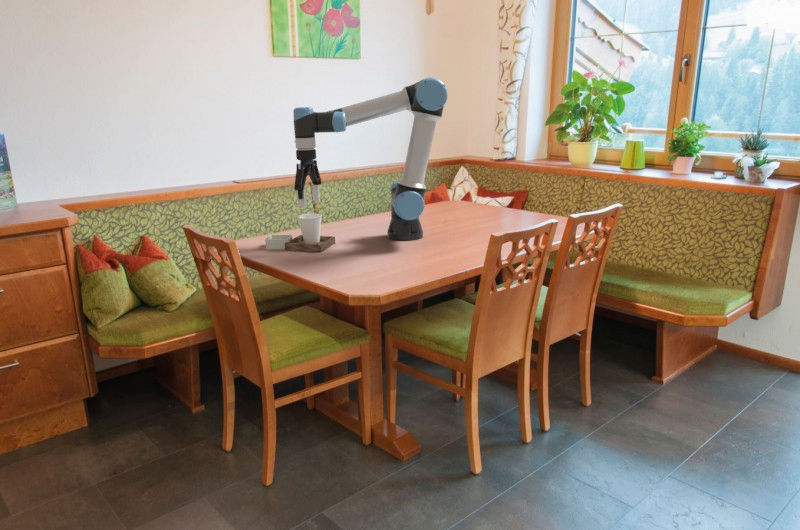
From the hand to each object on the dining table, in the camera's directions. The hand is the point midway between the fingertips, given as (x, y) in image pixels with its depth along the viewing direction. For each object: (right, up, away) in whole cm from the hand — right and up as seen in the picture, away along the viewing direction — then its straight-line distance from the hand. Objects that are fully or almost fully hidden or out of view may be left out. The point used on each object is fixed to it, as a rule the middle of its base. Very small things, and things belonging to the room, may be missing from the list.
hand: (309, 204), depth 236 cm
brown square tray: (0, -16, +5) cm, 17 cm away
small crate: (-13, -16, +5) cm, 21 cm away
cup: (0, -15, +7) cm, 16 cm away
